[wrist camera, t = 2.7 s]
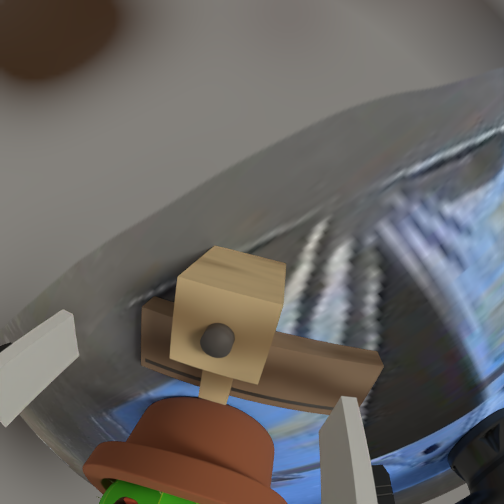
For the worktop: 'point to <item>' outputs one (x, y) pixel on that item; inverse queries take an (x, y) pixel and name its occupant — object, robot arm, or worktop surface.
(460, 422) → the worktop surface
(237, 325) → the tan wooden block
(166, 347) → the board
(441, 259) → the worktop surface
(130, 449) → the potted cactus
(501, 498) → the robot arm
